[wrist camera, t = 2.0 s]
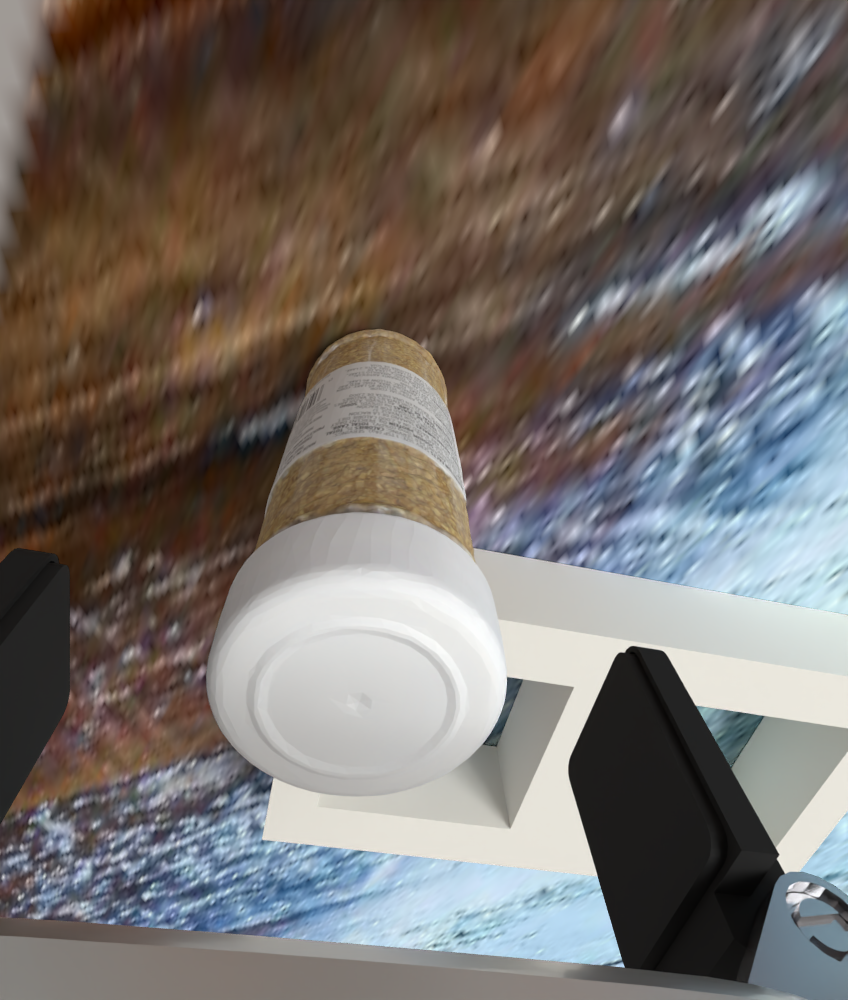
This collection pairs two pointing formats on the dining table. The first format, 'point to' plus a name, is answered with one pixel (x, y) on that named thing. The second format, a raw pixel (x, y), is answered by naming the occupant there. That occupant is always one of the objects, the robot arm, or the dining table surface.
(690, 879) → the robot arm
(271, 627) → the sprinkles bottle
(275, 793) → the condiment rack
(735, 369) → the dining table surface
